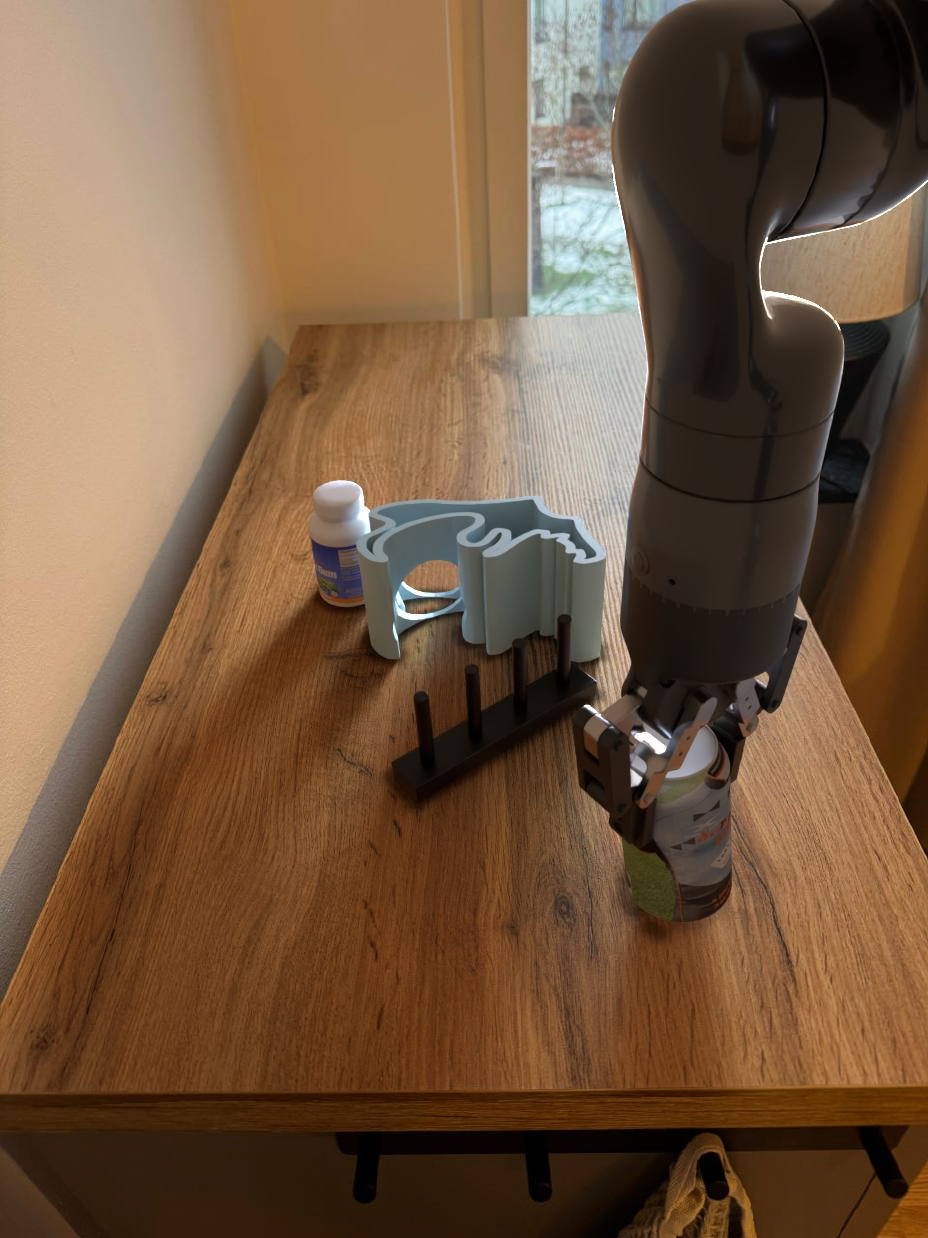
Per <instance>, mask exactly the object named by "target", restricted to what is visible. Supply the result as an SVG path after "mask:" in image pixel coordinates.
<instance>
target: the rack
mask: <svg viewBox="0 0 928 1238" xmlns="http://www.w3.org/2000/svg"><path fill="white" fill-rule="evenodd" d="M571 634H572V618H571V616H570V615H567V614H562V615H560V616H558V618H557V639H556V663H555V664H556V665H555V666H556V667H555V668H554V669H552V670H550V671H548V672H546V673H545V674H543V675H542V676H540V677H538V678H536V679H534V680H533V681H531V682H529V683H528V641H527V640H526V639H524V638H517V639H514V640H513V642H512V647H511V658H512V659H511V660H512V662H511V664H512V666H511V667H512V693H510V694H508V695H506V696H505V697H503V698H501V699H499V700H498V701H496V702H495V703H492V704H491V705H489V706H487V707H485V708H484V709H482V691H481V674H480V673H481V672H480V671H481V670H480V666H479V665H478V664H476V663H468V664H466V665H465V666H464V667H463V673H464V675H463V676H464V677H463V678H464V689H465V690H464V691H465V706H466V719H464V720H462V721H461V722H459V723H457V724H455V725H453V726H451V727H450V728H448V729H447V730H445V731H443V732H441V733H440V734H438V735H436V736H434V733H433V724H432V723H433V722H432V713H431V704H430V694H429V693H428V692H427V691H425V690H418V691H416V692H414V693H413V696H412V701H413V707H414V708H413V710H414V717H415V718H414V719H415V726H416V727H415V728H416V735H417V745H418V746H417V747H415V748H413V749H411V750H410V751H408V752H406V753H404V754H403V755H401V756H399V757H397V758H395V759H393V760H392V761H390V764H391V765H390V766H391V770H392V777H393V779H395V780H396V781H397V783H398V784H399V785H400V786H401V787H402V788H403V789H404V790H405V791H406V792H407V793H408V795H410V796H411V798H412V799H413V800H415V802H416V803H417V804H420V802H422V801H424V800H425V799H427V798H429V797H431V796H433V795H434V794H435V793H437V792H439V791H441V790H442V789H444V788H445V787H447V786H449V785H451V784H452V783H454V782H456V781H457V780H459V779H461V778H462V777H464V776H465V775H467V774H468V773H470V772H472V771H473V770H475V769H477V768H479V767H481V766H482V765H483V764H485V763H486V762H489V761H490V760H492V759H493V758H495V757H497V756H498V755H500V754H502V753H504V752H505V751H507V750H509V749H511V748H512V747H514V746H515V745H517V744H518V743H520V742H522V741H523V740H525V739H527V738H528V737H530V736H532V735H533V734H535V733H536V732H538V731H540V730H542V729H543V728H545V727H547V726H548V725H550V724H552V723H553V722H555V721H556V720H559V719H560V718H561V717H564V716H565V715H566V714H568V713H570V712H572V711H573V710H575V709H576V708H578V707H580V706H581V705H583V704H585V703H587V702H588V701H590V700H592V699H594V698H595V697H596V696H597V685H598V681H597V680H596V679H595V678H593V677H592V676H591V675H589V674H588V673H587V672H586V671H584V670H583V669H582V668H580V667H579V666H577V664H575V663H574V662H573V661H571Z"/></svg>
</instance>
